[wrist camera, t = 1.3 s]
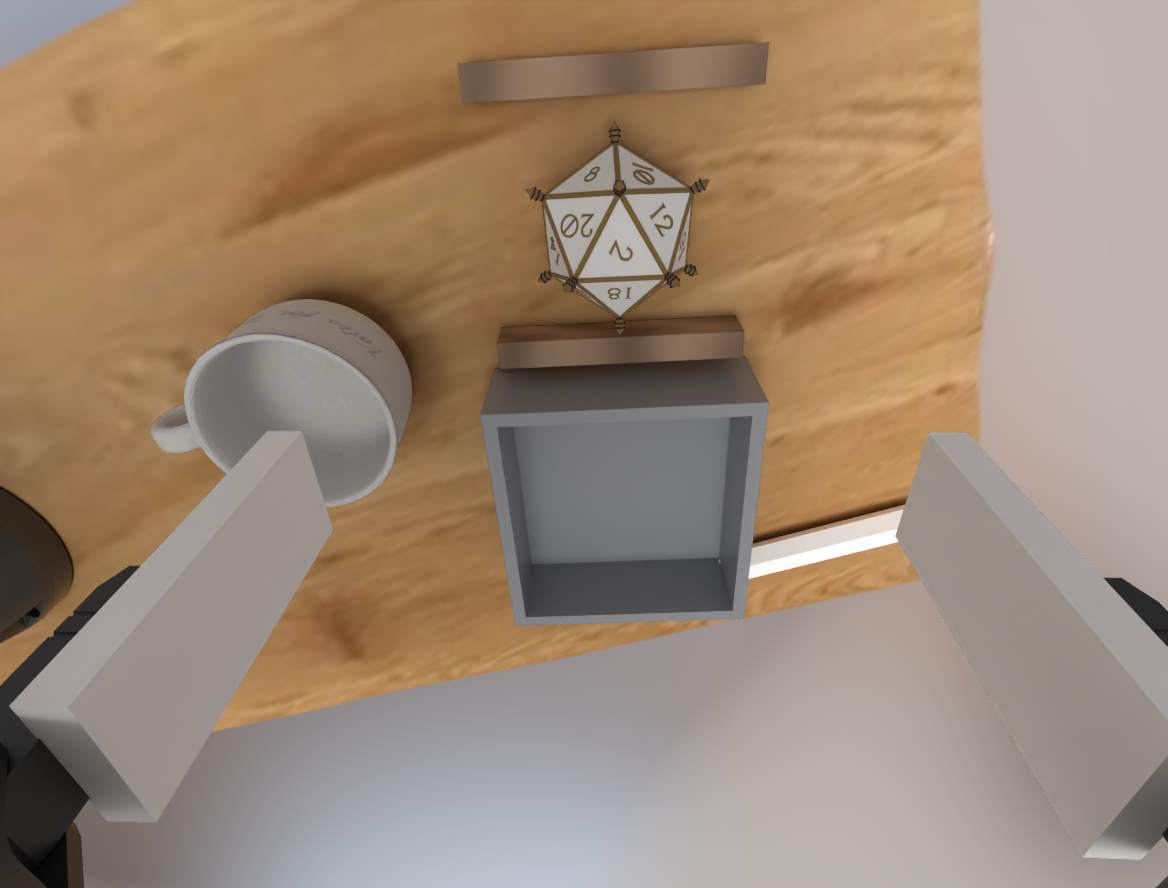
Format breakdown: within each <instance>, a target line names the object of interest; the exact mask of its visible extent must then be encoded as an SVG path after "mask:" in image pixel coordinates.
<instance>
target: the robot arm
mask: <svg viewBox="0 0 1168 888" xmlns="http://www.w3.org/2000/svg"><path fill="white" fill-rule="evenodd" d="M332 531H333V528H332V525H331V521H330V518H329V515H328V512H327V509H326V506H325V503H324V499H323V496H322V493H321V490H320V487H319V484H318V480H317V477H316V474H315V471H314V468H313V465H312V461H311V458H310V455H309V452H308V449H307V446H306V442H305V439H304V436H303V433H302V431H267V432H266V433H265V434H264V435H263V436H262V437H261V439H260V440H259V441H258V442H257V443H256V444H255V445H254V446H253V447H252V448H251V449H250V450H249V451H248V452H247V453H246V454H245V456H244V457H243V458H242V459H241V460H240V461H239V462H238V463H237V464H236V465H235V466H234V467H233V468H232V469H231V470H230V471H229V473H228V474H227V475H226V476H225V477H224V478H223V479H222V480H221V481H220V482H219V483H218V484H217V485H216V486H215V487H214V489H213V490H212V491H211V492H210V493H209V494H208V495H207V496H206V497H205V498H204V499H203V500H202V501H201V502H200V503H199V504H198V506H197V507H196V508H195V509H194V510H193V511H192V512H191V513H190V514H189V515H188V516H187V517H186V518H185V519H184V520H183V521H182V523H181V524H180V525H179V526H178V527H177V528H176V529H175V530H174V531H173V532H172V533H171V534H170V535H169V536H168V537H167V538H166V540H165V541H164V542H163V543H162V544H161V545H160V546H159V547H158V548H157V549H156V550H155V551H154V552H153V553H152V554H151V555H150V557H149V558H148V559H147V560H146V561H145V562H144V563H143V564H142V565H141V566H129V567H127V568H126V569H124V570H123V571H121V572H120V573H118V574H116V575H115V576H113V577H112V578H110V579H109V580H107V581H106V582H104V583H103V584H101V585H100V586H98V587H97V588H96V589H95V590H94V591H93V592H92V593H91V594H90V595H89V596H88V597H87V598H86V599H85V600H84V601H83V602H82V603H81V604H80V605H79V606H78V607H77V608H76V609H75V610H74V615H73V616H69V617H68V618H67V619H66V620H65V621H64V622H63V623H62V624H61V625H60V626H59V627H58V628H57V629H56V630H55V631H54V635H53V637H48V638H47V639H46V640H45V641H44V642H43V643H42V644H41V645H40V646H39V647H38V648H37V649H36V650H35V651H34V652H33V653H32V654H31V655H30V656H29V657H28V658H27V659H26V660H25V661H24V662H23V663H22V664H21V665H20V666H19V667H18V668H17V669H16V670H15V671H14V672H13V673H12V674H11V675H10V676H9V677H8V678H7V680H6V681H5V682H4V683H3V684H2V685H1V686H0V888H84V878H83V863H82V846H81V836H80V833H79V831H78V828H77V826H76V824H75V823H74V822H73V820H74V819H75V817H76V816H77V815H78V813H79V812H80V811H81V809H82V807H83V806H84V805H85V804H86V802H87V801H88V799H89V801H90V802H91V803H92V804H93V805H94V806H95V808H96V809H97V810H98V811H99V812H100V813H101V815H102V816H103V817H104V818H105V819H106V820H107V821H124V822H153V823H156V822H157V821H158V819H159V818H160V816H161V814H162V813H163V811H164V809H165V808H166V806H167V804H168V803H169V801H170V799H171V798H172V796H173V794H174V793H175V791H176V789H177V788H178V786H179V784H180V783H181V781H182V779H183V778H184V776H185V775H186V773H187V771H188V770H189V768H190V766H191V765H192V763H193V761H194V759H195V758H196V756H197V755H198V753H199V751H200V750H201V748H202V746H203V745H204V743H205V741H206V740H207V738H208V736H209V735H210V733H211V731H212V730H213V728H214V726H215V725H216V723H217V722H218V720H219V718H220V717H221V715H222V713H223V712H224V710H225V708H226V707H227V705H228V703H229V702H230V700H231V698H232V697H233V695H234V693H235V692H236V690H237V688H238V687H239V685H240V683H241V682H242V680H243V678H244V677H245V675H246V673H247V672H248V670H249V669H250V667H251V665H252V664H253V662H254V660H255V659H256V657H257V655H258V654H259V652H260V650H261V649H262V647H263V645H264V644H265V642H266V640H267V639H268V637H269V635H270V634H271V632H272V630H273V629H274V627H275V625H276V624H277V622H278V620H279V619H280V617H281V616H282V614H283V612H284V611H285V609H286V607H287V606H288V604H289V602H290V601H291V599H292V597H293V596H294V594H295V592H296V591H297V589H298V587H299V586H300V584H301V582H302V581H303V579H304V577H305V576H306V574H307V572H308V571H309V569H310V568H311V566H312V564H313V563H314V561H315V559H316V558H317V556H318V554H319V553H320V551H321V549H322V548H323V546H324V544H325V543H326V541H327V539H328V538H329V536H330V534H331V533H332ZM895 536H896V538H897V540H898V542H899V543H900V545H901V547H902V548H903V550H904V552H905V554H906V555H907V557H908V559H909V560H910V562H911V564H912V566H913V567H914V569H915V571H916V572H917V574H918V576H919V578H920V579H921V581H922V583H923V584H924V586H925V588H926V589H927V591H928V593H929V595H930V596H931V598H932V600H933V601H934V603H935V605H936V607H937V609H938V610H939V612H940V614H941V615H942V617H943V619H944V621H945V622H946V624H947V626H948V627H949V629H950V631H951V632H952V634H953V636H954V638H955V639H956V641H957V643H958V645H959V646H960V648H961V650H962V652H963V653H964V655H965V657H966V658H967V660H968V662H969V663H970V665H971V667H972V669H973V670H974V672H975V674H976V676H977V677H978V679H979V681H980V682H981V684H982V686H983V687H984V689H985V691H986V693H987V694H988V696H989V698H990V700H991V701H992V703H993V705H994V706H995V708H996V710H997V712H998V713H999V715H1000V717H1001V719H1002V720H1003V722H1004V724H1005V725H1006V727H1007V729H1008V730H1009V732H1010V734H1011V735H1012V737H1013V739H1014V741H1015V743H1016V744H1017V746H1018V748H1019V749H1020V751H1021V753H1022V755H1023V756H1024V758H1025V760H1026V761H1027V763H1028V765H1029V767H1030V768H1031V770H1032V772H1033V773H1034V775H1035V777H1036V779H1037V780H1038V782H1039V784H1040V785H1041V787H1042V789H1043V791H1044V792H1045V794H1046V796H1047V798H1048V799H1049V801H1050V803H1051V804H1052V806H1053V808H1054V809H1055V811H1056V813H1057V815H1058V816H1059V818H1060V820H1061V822H1062V823H1063V825H1064V827H1065V829H1066V830H1067V832H1068V834H1069V835H1070V837H1071V839H1072V840H1073V842H1074V844H1075V846H1076V847H1077V849H1078V851H1079V853H1080V854H1081V856H1082V857H1086V858H1088V857H1089V858H1113V859H1140V860H1141V859H1142V858H1143V857H1144V856H1145V855H1146V854H1147V853H1148V852H1149V851H1150V849H1152V847H1153V846H1154V845H1155V844H1156V843H1157V842H1158V841H1159V840H1160V839H1161V838H1162V837H1163V836H1164V838H1165V839H1166V841H1167V842H1168V611H1167V610H1166V609H1165V608H1164V607H1163V606H1162V605H1161V604H1160V603H1159V602H1158V601H1156V600H1155V599H1153V598H1151V597H1150V596H1148V595H1147V594H1145V593H1144V592H1142V591H1140V590H1139V589H1138V588H1136V587H1135V586H1133V585H1131V584H1130V583H1128V582H1127V581H1125V580H1124V579H1122V578H1103V577H1102V576H1101V575H1100V574H1099V573H1098V572H1097V571H1096V570H1095V569H1094V568H1093V567H1092V566H1091V564H1090V563H1089V562H1088V561H1087V560H1086V559H1085V558H1084V557H1083V556H1082V555H1081V554H1080V553H1079V552H1078V551H1077V550H1076V549H1075V547H1074V546H1073V545H1072V544H1071V543H1070V542H1069V541H1068V540H1067V539H1066V538H1065V537H1064V536H1063V535H1062V534H1061V532H1060V531H1059V530H1058V529H1057V528H1056V527H1055V526H1054V525H1053V524H1052V523H1051V522H1050V521H1049V520H1048V519H1047V517H1046V516H1044V514H1043V513H1042V512H1041V511H1040V510H1039V509H1038V508H1037V507H1036V506H1035V505H1034V504H1033V502H1032V501H1031V500H1030V499H1029V498H1028V497H1027V496H1026V495H1025V494H1024V493H1023V492H1022V491H1021V490H1020V489H1019V487H1018V486H1016V485H1015V483H1014V482H1013V481H1012V480H1011V479H1010V478H1009V477H1008V476H1007V475H1006V474H1005V473H1004V472H1003V470H1002V469H1001V468H1000V467H999V466H998V465H997V464H996V463H995V462H994V461H993V460H992V459H991V458H990V456H989V455H988V454H987V453H986V452H985V451H984V450H983V449H982V448H981V447H980V446H979V445H978V444H977V443H976V441H975V440H974V439H973V438H972V437H971V436H970V435H969V434H968V433H928V436H927V439H926V442H925V445H924V448H923V451H922V454H921V457H920V461H919V464H918V467H917V470H916V473H915V476H914V479H913V482H912V486H911V489H910V492H909V495H908V498H907V501H906V504H905V507H904V511H903V514H902V517H901V520H900V523H899V526H898V529H897V532H896V535H895ZM71 582H72V568H71V563H70V560H69V557H68V554H67V552H66V550H65V548H64V546H63V545H62V543H61V541H60V540H59V539H58V537H57V536H56V534H55V533H54V532H53V531H52V529H51V528H50V527H49V526H48V525H47V524H46V523H45V522H44V521H43V520H42V519H41V518H40V517H39V516H38V515H37V514H36V513H34V512H33V511H32V510H31V509H30V508H28V507H27V506H26V505H24V504H23V503H22V502H20V501H19V500H17V499H16V498H14V497H13V496H11V495H10V494H8V493H7V492H5V491H3V490H1V489H0V644H1V643H2V642H4V641H6V640H8V639H10V638H11V637H13V636H15V635H17V634H19V633H21V632H22V631H24V630H26V629H28V628H30V627H31V626H33V625H35V624H36V623H37V622H39V621H40V620H41V619H43V618H44V617H45V616H46V615H47V614H48V613H49V612H50V611H51V610H52V609H53V608H54V607H55V606H56V605H57V604H58V603H59V602H60V601H61V600H62V599H63V598H64V597H65V595H66V594H67V592H68V591H69V588H70V586H71ZM1156 888H1168V876H1167V877H1166V878H1165V879H1164V880H1163V881H1162V882H1161V883H1160V884H1159V885H1158V886H1157V887H1156Z"/></svg>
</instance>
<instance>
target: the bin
mask: <svg viewBox="0 0 1168 888" xmlns="http://www.w3.org/2000/svg"><path fill="white" fill-rule="evenodd" d="M768 406H769V402H768V400H767V398H766V396H765V394H764V392H763V390H762V388H761V386H760V385H759V383H758V381H757V379H756V377H755V375H754V373H753V371H752V369H751V367H750V366H749V364H748V362H747V360H746V358H745V357H742V358H723V359H703V360H682V361H661V362H640V363H619V364H598V365H577V366H556V367H535V368H514V369H495V370H494V374H493V377H492V380H491V383H490V386H489V389H488V393H487V396H486V399H485V402H484V405H483V408H482V411H481V415H480V417H481V423H482V429H483V435H484V441H485V447H486V453H487V459H488V465H489V471H490V477H491V483H492V489H493V495H494V501H495V507H496V513H497V519H498V525H499V531H500V537H501V543H502V549H503V555H504V561H505V567H506V573H507V579H508V585H509V591H510V597H511V603H512V609H513V615H514V621H515V626H529V625H561V624H593V623H625V622H657V621H688V620H720V619H744V613H745V604H746V596H747V587H748V579H749V570H750V561H751V553H752V544H753V535H754V527H755V518H756V510H757V501H758V492H759V484H760V475H761V466H762V458H763V449H764V440H765V432H766V423H767V415H768ZM719 559H720V563H721V564H720V563H719V561H718V560H719Z"/></svg>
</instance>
